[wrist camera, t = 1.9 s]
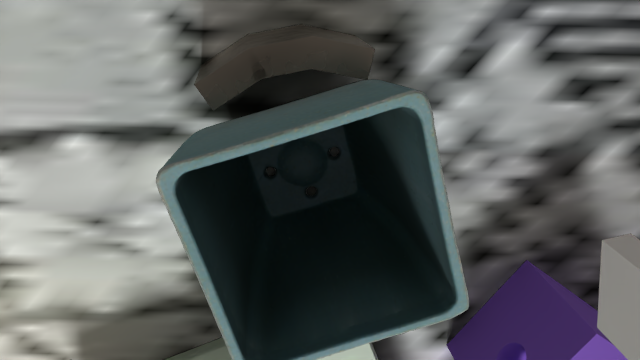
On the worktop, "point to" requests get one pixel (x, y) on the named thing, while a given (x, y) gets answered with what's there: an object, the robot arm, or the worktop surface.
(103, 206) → the worktop surface
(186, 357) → the pale green square tray
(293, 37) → the holder
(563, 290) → the bracket
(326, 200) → the flower pot
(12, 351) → the worktop surface
